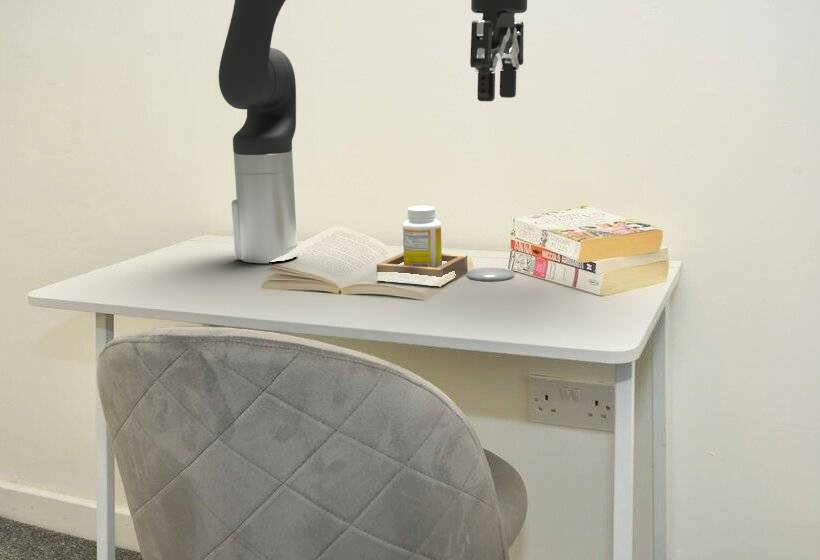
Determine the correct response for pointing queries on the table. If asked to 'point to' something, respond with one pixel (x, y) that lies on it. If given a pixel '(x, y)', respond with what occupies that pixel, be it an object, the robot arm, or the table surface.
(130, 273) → the table surface
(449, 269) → the box frame
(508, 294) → the table surface
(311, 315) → the table surface
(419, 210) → the supplement bottle
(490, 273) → the coaster
